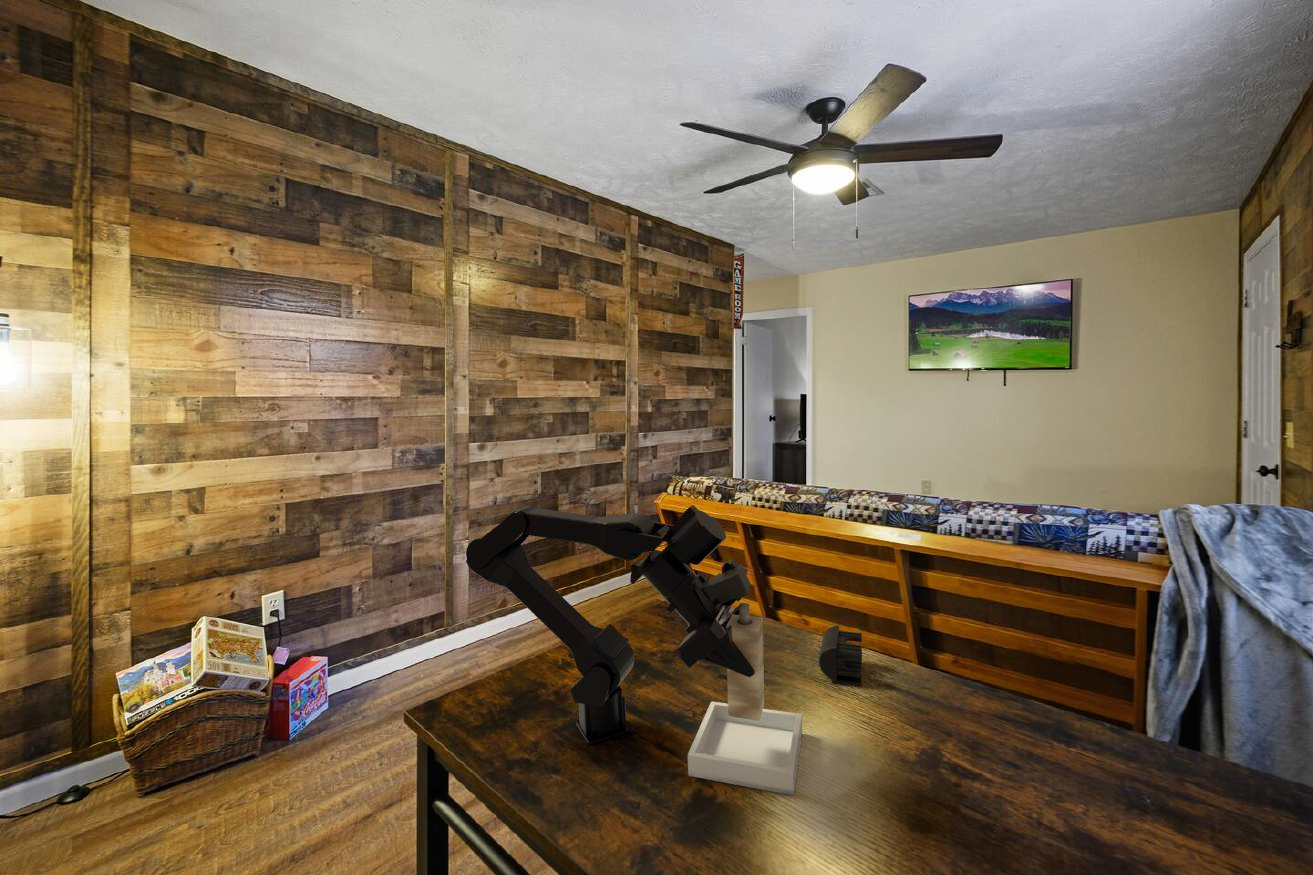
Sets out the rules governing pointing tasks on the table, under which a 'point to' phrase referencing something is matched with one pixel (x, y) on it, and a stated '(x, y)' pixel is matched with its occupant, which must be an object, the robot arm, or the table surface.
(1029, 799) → the table surface
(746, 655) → the wooden square post
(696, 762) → the white square tray
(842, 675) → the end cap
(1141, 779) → the table surface
